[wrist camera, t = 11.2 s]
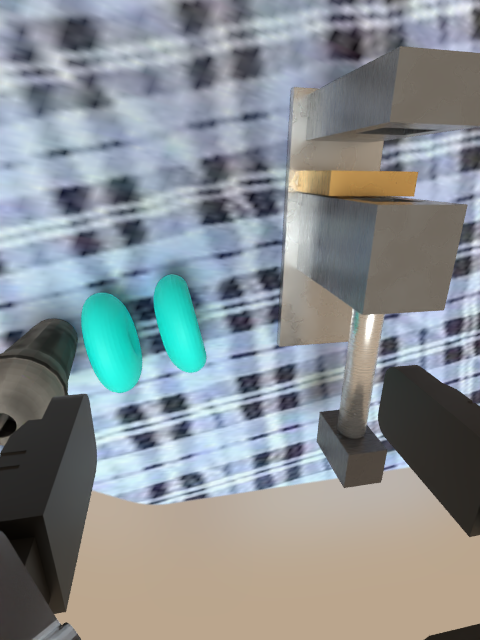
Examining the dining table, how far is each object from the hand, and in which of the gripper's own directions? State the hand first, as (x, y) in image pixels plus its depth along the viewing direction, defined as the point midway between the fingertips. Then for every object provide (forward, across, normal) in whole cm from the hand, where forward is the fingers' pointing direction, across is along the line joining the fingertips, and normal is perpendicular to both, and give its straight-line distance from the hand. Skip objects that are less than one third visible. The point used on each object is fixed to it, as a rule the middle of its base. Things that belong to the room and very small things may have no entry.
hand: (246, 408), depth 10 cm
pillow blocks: (+32, -16, 0) cm, 36 cm away
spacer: (+31, -16, -5) cm, 35 cm away
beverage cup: (+32, +14, +11) cm, 37 cm away
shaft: (+25, -16, +10) cm, 31 cm away
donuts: (+32, +4, +9) cm, 34 cm away
